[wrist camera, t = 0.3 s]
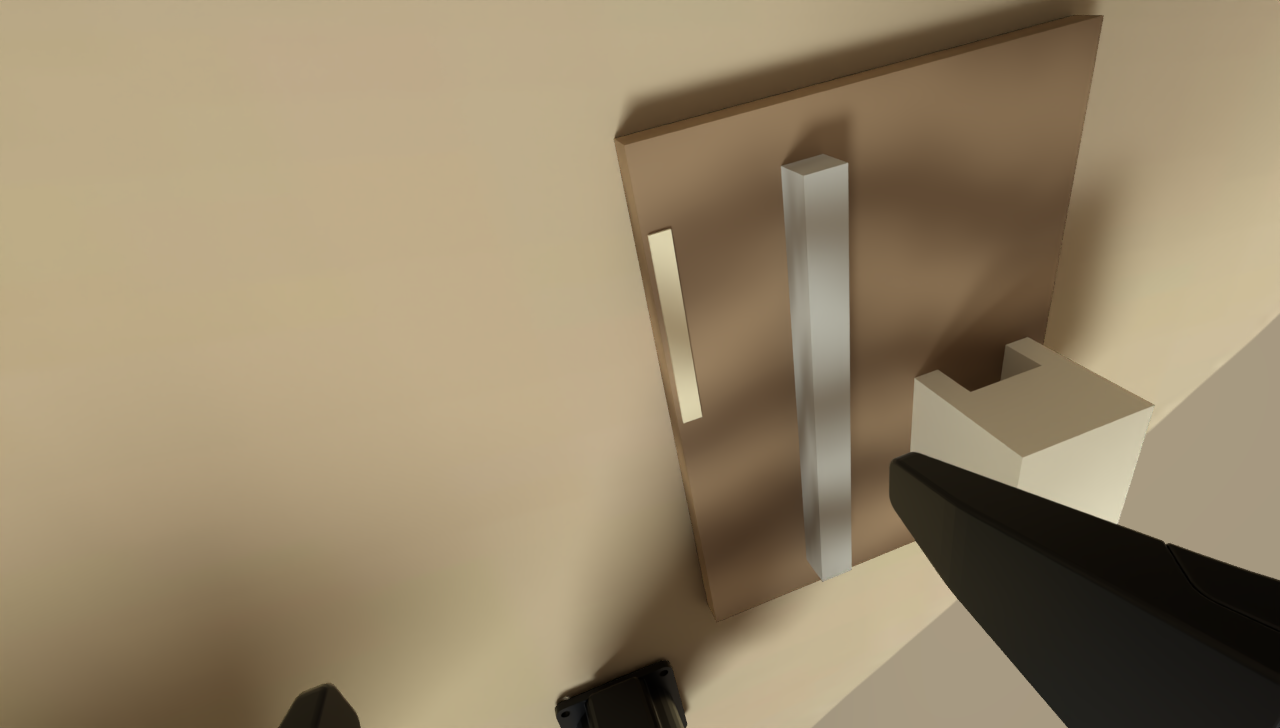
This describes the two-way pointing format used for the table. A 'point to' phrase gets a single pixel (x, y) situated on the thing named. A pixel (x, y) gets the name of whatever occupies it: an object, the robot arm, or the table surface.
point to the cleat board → (905, 271)
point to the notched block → (1037, 429)
